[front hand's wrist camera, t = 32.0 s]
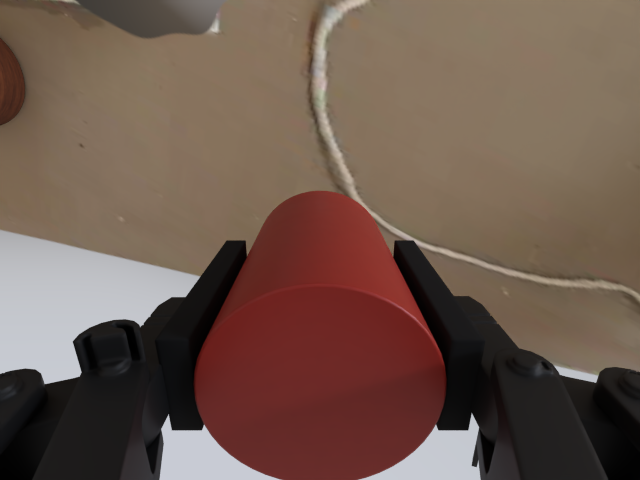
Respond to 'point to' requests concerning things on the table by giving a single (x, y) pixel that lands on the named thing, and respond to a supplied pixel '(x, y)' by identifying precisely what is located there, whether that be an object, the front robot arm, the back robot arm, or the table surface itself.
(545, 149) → the table surface
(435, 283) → the front robot arm
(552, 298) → the table surface
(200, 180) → the table surface
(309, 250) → the cylinder
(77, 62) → the table surface
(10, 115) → the brown tiered piece
